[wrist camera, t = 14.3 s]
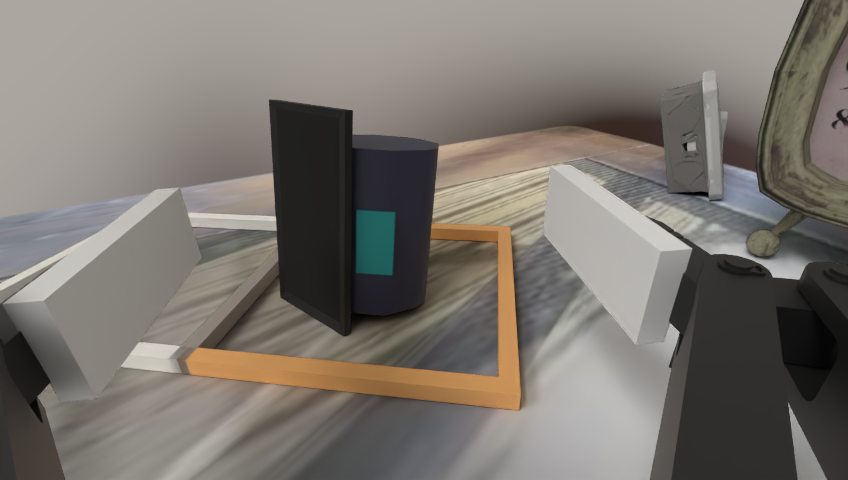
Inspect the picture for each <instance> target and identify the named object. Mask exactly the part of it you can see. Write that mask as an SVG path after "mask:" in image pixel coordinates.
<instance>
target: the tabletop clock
mask: <svg viewBox="0 0 848 480" xmlns="http://www.w3.org/2000/svg"><path fill="white" fill-rule="evenodd" d="M756 172H757V178H758V185H759V191H760V192H761V193H763V194H764V195H766V196H767V197H769V198H771V199H772V200H774V201H775V202H777V203H779V204H780V205H782V206H783V207H786V208H788V209H790V210H791V211H790V212H789V213H788V214H787V215H786V216H785V217H784V218H783V219H782V220H781V221H780V222H779V223H778V224H777V225H776V226H775V227H774V228H773V229H772V230H771V231H770V230H764V229H763V230H757V231H754V232H753V233H751V234H750V235H749V236H748V238H747V241H746V246H747V248H748V250H749V251H750V252H751V253H752V254H755V255H757V256H769V255H772V254H774V253H775V252H776V251H777V250H778V249H779V247H780V239H779V236H781V235H782V234H784V233H785V232H786V231H788V230H789V229H791V228H792V227H794V226H795V225H797V224H798V223H800V222H801V221H802V220H804V219H805V218H807V217H811V218H814V219H817V220H820V221H824V222H827V223H830V224H834V225H837V226H841V227H844V228H848V0H804V3H803V5H802V7H801V10H800V12H799V14H798V17H797V19H796V21H795V24H794V26H793V28H792V31H791V33H790V35H789V38H788V40H787V42H786V45H785V47H784V50H783V52H782V54H781V57H780V59H779V61H778V64H777V66H776V68H775V71H774V75H773V79H772V83H771V87H770V91H769V95H768V99H767V103H766V107H765V111H764V115H763V119H762V123H761V127H760V131H759V137H758V144H757V154H756Z"/></svg>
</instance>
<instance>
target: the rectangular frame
mask: <svg viewBox="0 0 848 480" xmlns="http://www.w3.org/2000/svg"><path fill="white" fill-rule="evenodd" d="M188 216H189V219H190V222H191V225H192V227H206V228H226V229H246V230H267V231H277V227H276V216H255V215H232V214H209V213H188ZM96 234H97V233H96ZM94 235H95V234H94ZM94 235H93V236H94ZM93 236H91V237H93ZM91 237H89V238H87V239H85V240H83V241H81V242H79V243H77V244H75V245H73V246H71V247H70V248H68V249H66V250H64V251H62V252H60V253H58V254H56V255H54V256H52V257H50V258H48V259H46V260H45V261H43V262H41V263H39V264H37V265H35V266H33V267H31V268H29V269H27V270H25V271H23V272H21V273H20V274H18V275H16V276H14V277H12V278H10V279H8V280H6V281H4V282H2V283H0V303H2V302H3V301H5V300H6V299H7V298H9V297H10V296H11V295H13V294H14V293H15V292H19V291H20V289H21V288H22V287H23V286H25V285H26V284H28V283H29V282H32V280H33V279H34V278H36V277H37V276H38V275H40V274H41V273H42V272H44V271H45V270H46V269H48V268H50V267H52V266H54V265H55V264H56V263H58V262H59V261H61V260H62V259H63V258H65V257H66V256H67V255H69V254H70V253H71V252H73V251H74V250H75V249H77V248H78V247H79V246H81V245H82V244H83V243H85V242H86V241H87V240H89V239H90V238H91ZM430 239H449V240H470V241H490V242H498V377H494V376H484V375H473V374H463V373H453V372H443V371H432V370H422V369H412V368H402V367H391V366H381V365H371V364H361V363H350V362H340V361H330V360H320V359H309V358H299V357H289V356H279V355H268V354H258V353H248V352H238V351H227V350H217V349H214V347H215V346H216V345H217V344H218V343H219V342H220V341H221V339H222V338H223V337H224V336H225V335H226V334H227V333H228V331H229V330H230V329H231V328H232V327H233V326H234V325H235V324H236V322H237V321H238V320H239V319H240V318H241V317H242V316H243V314H244V313H245V312H246V311H247V310H248V309H249V308H250V306H251V305H252V304H253V303H254V302H255V301H256V300H257V298H258V297H259V296H260V295H261V294H262V293H263V292H264V290H265V289H266V288H267V287H268V286H269V285H270V284H271V282H272V281H273V280H274V279H275V278H276V277H277V276H278V274H279V261H278V248H277V249H276V250H275V251H274V252H273V253H272V254H271V255H270V256H269V257H268V258H267V259H266V260H265V261H264V262H263V263H262V264H261V265H260V266H259V267H258V268H257V269H256V270H255V271H254V272H253V273H252V274H251V275H250V276H249V277H248V278H247V279H246V280H245V281H244V282H243V283H242V284H241V285H240V287H239V288H238V289H237V290H236V291H235V292H234V293H233V294H232V295H231V296H230V297H229V298H228V299H227V300H226V301H225V302H224V303H223V304H222V305H221V306H220V307H219V308H218V309H217V310H216V311H215V312H214V313H213V314H212V315H211V316H210V317H209V318H208V319H207V320H206V321H205V322H204V323H203V324H202V325H201V326H200V327H199V328H198V329H197V330H196V331H195V332H194V333H193V334H192V335H191V336H190V337H189V338H188V339H187V340H186V341H185V342H184V343H183V344H182V345H181V346H176V345H166V344H155V343H145V342H139V343H138V344H137V345H136V347H135V348H134V349H133V351H132V352H131V353H130V355H129V356H128V357H127V359H126V360H125V361H124V363H123V364H122V365H121V367H125V368H134V369H143V370H152V371H162V372H171V373H180V374H189V375H198V376H208V377H217V378H226V379H235V380H244V381H254V382H263V383H272V384H281V385H290V386H300V387H309V388H318V389H327V390H336V391H346V392H355V393H364V394H373V395H382V396H392V397H401V398H410V399H419V400H428V401H438V402H447V403H456V404H465V405H474V406H484V407H493V408H502V409H511V410H519V407H520V399H521V389H520V373H519V357H518V341H517V326H516V310H515V294H514V278H513V262H512V246H511V230H510V227H507V226H484V225H462V224H439V223H432V226H431V237H430Z"/></svg>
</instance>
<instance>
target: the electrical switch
mask: <svg viewBox="0 0 848 480" xmlns="http://www.w3.org/2000/svg"><path fill="white" fill-rule="evenodd" d="M666 101H667V102H666ZM660 102H661V116H662V126H663V138H664V149H665V160H666V172H667V183H668V193H678V192H698V191H703V192H709V201H710V200H716V199H722V197H723V190H724V185H723V160H722V152H723V138H724V133H725V127H726V122H727V117H728V112H720V100H719V91H718V84H717V77H716V72H715V70H713V71H705V72H704V74H703V80H702V81H700V82H697V83H693V84H689V85H686V86H682V87H677V88H672V89H667V91H666V93H665V94H664V96H663V98H662V99H661V101H660ZM662 102H663V103H662Z"/></svg>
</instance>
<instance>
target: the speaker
mask: <svg viewBox="0 0 848 480" xmlns="http://www.w3.org/2000/svg"><path fill="white" fill-rule="evenodd" d="M269 107H270V124H271V141H272V157H273V158H272V159H273V176H274V193H275V210H276V227H277V244H278V261H279V278H280V296H281V298H283V299H284V300H286V301H288V302H289V303H291V304H293V305H294V306H296V307H298V308H299V309H301V310H302V311H304V312H306V313H307V314H309V315H311V316H312V317H314V318H315V319H317V320H319V321H320V322H322V323H324V324H325V325H327V326H328V327H330V328H332V329H333V330H335V331H337V332H338V333H340V334H342V335H343V336H345V335H347V334H349V333H351V313H358V314H369V315H380V316H385V315H389V314H393V313H397V312H401V311H405V310H409V309H413V308H416V307H417V306H418V305H420V304H421V303H422V302H424V300H425V292H426V283H427V271H428V260H429V249H430V237H431V226H432V215H433V203H434V192H435V181H436V169H437V158H438V147H439V145H438V144H437V143H433V142H429V141H425V140H421V139H414V138H407V137H394V136H381V135H352V123H353V122H352V120H353V119H352V118H353V111H352V110H346V109H338V108H331V107H324V106H316V105H310V104H303V103H296V102H288V101H281V100H269Z"/></svg>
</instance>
